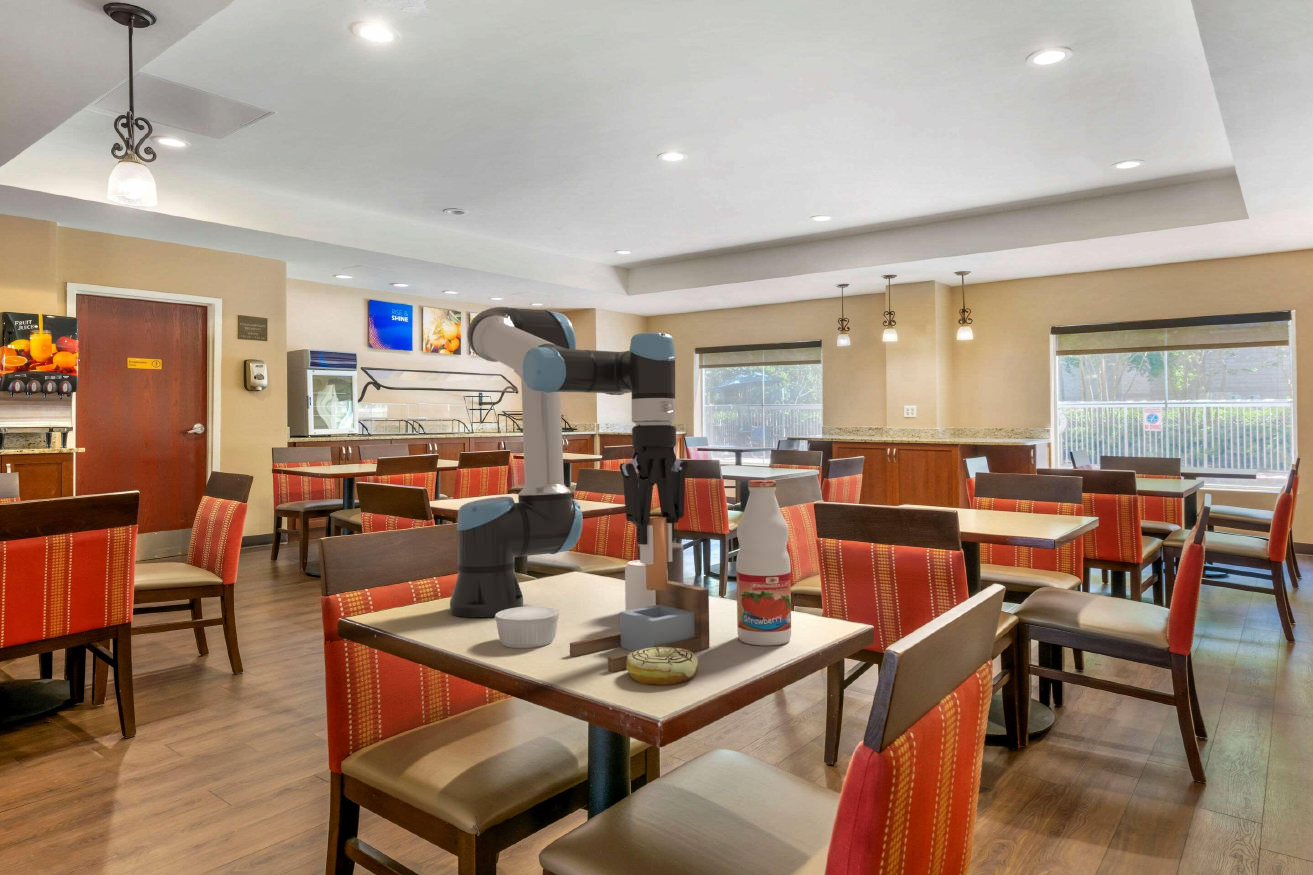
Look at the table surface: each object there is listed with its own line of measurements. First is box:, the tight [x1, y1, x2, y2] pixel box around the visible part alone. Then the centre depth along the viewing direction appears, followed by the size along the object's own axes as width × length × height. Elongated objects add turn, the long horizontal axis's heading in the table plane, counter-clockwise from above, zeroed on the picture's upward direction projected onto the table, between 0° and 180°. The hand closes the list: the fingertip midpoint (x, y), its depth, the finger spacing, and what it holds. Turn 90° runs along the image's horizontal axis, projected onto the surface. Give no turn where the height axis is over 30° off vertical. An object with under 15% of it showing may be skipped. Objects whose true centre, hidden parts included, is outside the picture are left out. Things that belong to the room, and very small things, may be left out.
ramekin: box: [494, 605, 560, 649], centre depth 134 cm, size 11×11×5 cm
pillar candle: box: [636, 542, 684, 584], centre depth 157 cm, size 10×10×15 cm
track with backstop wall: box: [569, 580, 711, 673], centre depth 127 cm, size 12×20×10 cm, turn 129°
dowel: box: [646, 516, 667, 590], centre depth 129 cm, size 4×4×12 cm
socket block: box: [619, 604, 695, 652], centre depth 129 cm, size 9×9×6 cm
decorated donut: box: [626, 647, 699, 686], centre depth 114 cm, size 10×11×4 cm
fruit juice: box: [735, 479, 792, 647], centre depth 133 cm, size 9×9×28 cm
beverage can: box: [624, 559, 656, 611], centre depth 145 cm, size 8×8×12 cm
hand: (656, 561), depth 129 cm, fingers closed on dowel, 3 cm apart
